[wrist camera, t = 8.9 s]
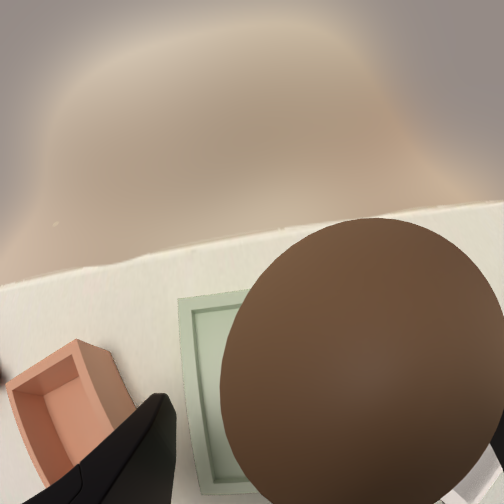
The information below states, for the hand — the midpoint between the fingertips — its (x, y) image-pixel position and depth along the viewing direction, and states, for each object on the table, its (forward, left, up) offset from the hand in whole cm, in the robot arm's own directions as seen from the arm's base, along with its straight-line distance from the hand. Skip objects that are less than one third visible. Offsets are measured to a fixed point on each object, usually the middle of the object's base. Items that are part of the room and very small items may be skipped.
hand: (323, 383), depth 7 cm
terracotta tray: (+10, +10, -9) cm, 17 cm away
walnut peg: (0, 0, -8) cm, 8 cm away
